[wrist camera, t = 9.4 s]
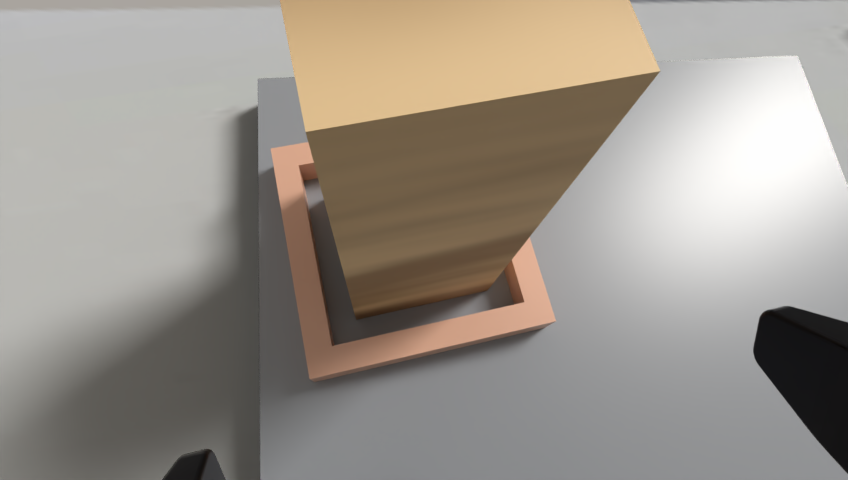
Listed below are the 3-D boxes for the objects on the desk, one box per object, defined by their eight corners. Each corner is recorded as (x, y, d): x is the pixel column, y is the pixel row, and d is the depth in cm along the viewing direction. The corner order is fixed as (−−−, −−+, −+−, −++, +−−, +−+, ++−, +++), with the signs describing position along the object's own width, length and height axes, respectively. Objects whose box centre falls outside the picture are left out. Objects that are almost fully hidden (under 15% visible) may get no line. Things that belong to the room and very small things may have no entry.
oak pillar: (487, 290, 18) (660, 71, 7) (356, 319, 17) (305, 132, 6) (454, 172, 19) (551, -176, 8) (330, 195, 19) (251, -146, 8)
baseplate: (271, 548, 17) (260, 560, 15) (265, 101, 22) (257, 78, 20) (913, 465, 19) (956, 469, 17) (772, 77, 24) (797, 55, 22)
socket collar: (545, 327, 18) (556, 321, 17) (314, 382, 17) (309, 379, 16) (483, 128, 20) (489, 110, 19) (277, 164, 19) (270, 148, 18)
